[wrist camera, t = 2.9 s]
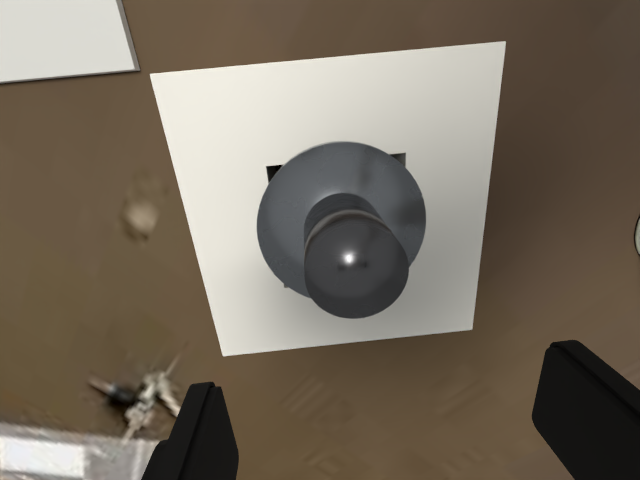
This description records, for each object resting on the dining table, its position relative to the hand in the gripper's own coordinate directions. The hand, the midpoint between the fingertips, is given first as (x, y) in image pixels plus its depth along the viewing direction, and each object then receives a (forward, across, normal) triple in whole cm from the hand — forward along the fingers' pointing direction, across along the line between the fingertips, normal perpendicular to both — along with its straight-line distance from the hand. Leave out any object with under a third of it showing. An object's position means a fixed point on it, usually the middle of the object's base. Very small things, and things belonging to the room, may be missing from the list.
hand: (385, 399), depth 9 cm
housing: (+20, 0, -1) cm, 20 cm away
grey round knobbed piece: (+20, 0, -1) cm, 20 cm away
